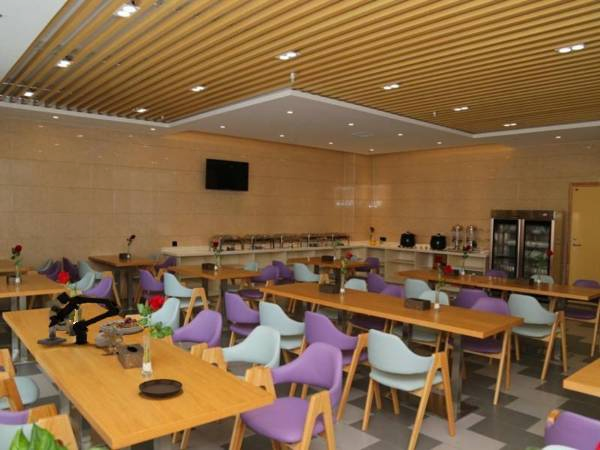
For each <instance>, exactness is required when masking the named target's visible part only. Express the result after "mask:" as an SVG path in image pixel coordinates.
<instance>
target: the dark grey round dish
mask: <svg viewBox="0 0 600 450" xmlns="http://www.w3.org/2000/svg"><path fill="white" fill-rule="evenodd" d="M36 342H37V344H39V345H45V346H50V347H51V346H52V347H53V346H55V345H59V344H63V343H67V338H65V337H58V336H56V337H55V338H49V337H45V338H41V339H37V341H36Z"/></svg>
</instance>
